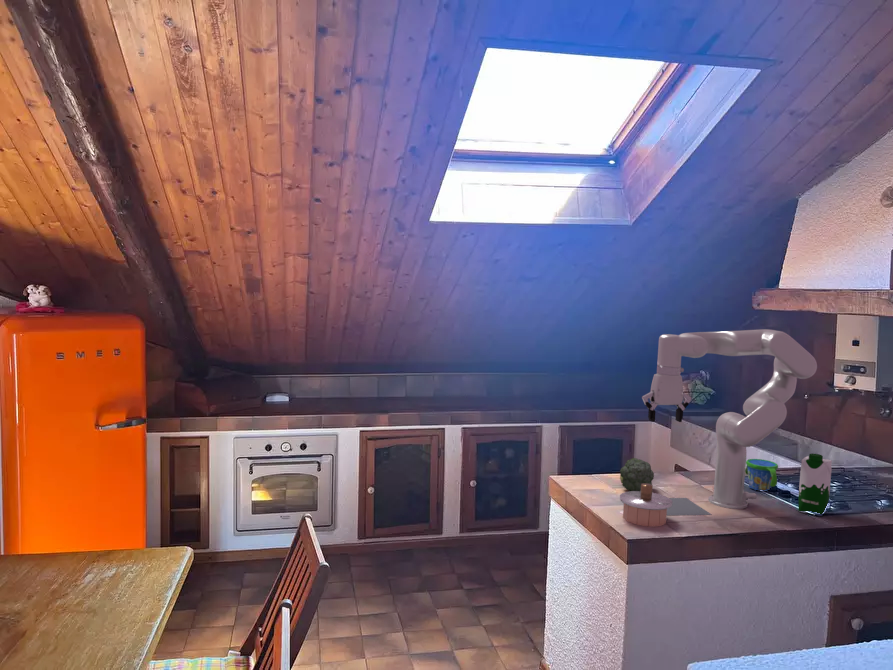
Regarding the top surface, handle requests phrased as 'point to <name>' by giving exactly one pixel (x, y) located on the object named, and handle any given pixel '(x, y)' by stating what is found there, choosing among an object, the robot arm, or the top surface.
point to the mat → (685, 508)
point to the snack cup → (761, 474)
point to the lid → (646, 499)
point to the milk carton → (814, 483)
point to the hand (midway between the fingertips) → (665, 421)
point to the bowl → (644, 516)
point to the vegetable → (636, 474)
